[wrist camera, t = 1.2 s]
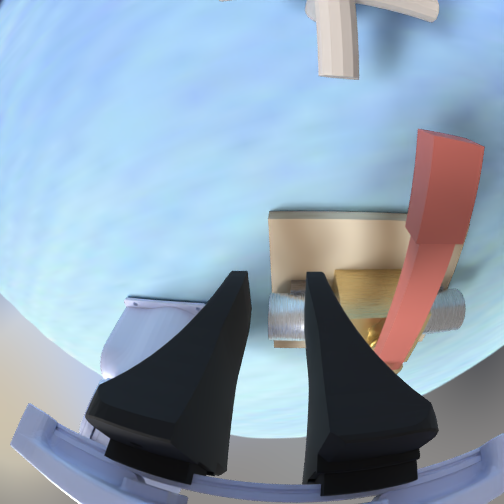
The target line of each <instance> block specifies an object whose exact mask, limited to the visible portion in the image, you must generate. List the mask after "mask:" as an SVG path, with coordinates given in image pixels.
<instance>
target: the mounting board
mask: <svg viewBox="0 0 504 504" xmlns="http://www.w3.org/2000/svg"><path fill="white" fill-rule="evenodd" d="M406 219H407V214H405V213H380V212H340V211H269V217H268V224H269V242H270V262H271V283H272V293H291V280H306V272H323V273H324V274H325V276H326V278H327V281H328V283H329V285H330V287H331V289H332V285H333V278H334V270H345V269H402V268H403V264H404V261H405V257H406V253H407V249H408V245H409V241H410V237H411V235H410V234H409V232H408V231H407V229H406V228H405V224H406ZM469 225H470V224H469ZM468 229H469V226H468ZM467 232H468V230H467ZM466 236H467V233H466ZM466 236H465V239H466ZM464 242H465V240H464ZM463 245H464V243H463V244H455V247H454V250H453V253H452V256H451V259H450V262H449V265H448V268H447V270H446V273H445V276H444V278H443V281H442V283H443V285H444V289H447V288H448V286H449V283H450V281H451V278H452V276H453V273H454V271H455V268H456V265H457V263H458V260H459V257H460V254H461V251H462V248H463ZM424 336H425V334H422V335H421V337H420V338H419V340H418V342H420V341H422V340H423V338H424ZM274 348H306V346H305V341H285V340H274Z"/></svg>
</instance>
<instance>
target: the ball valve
mask: <svg viewBox="0 0 504 504" xmlns="http://www.w3.org/2000/svg"><path fill="white" fill-rule="evenodd" d="M401 271H402V269H345V270H334V278H333V285H332V291H333V292H334V294H335V296H336V298H337V300H338V301H339V303H340V305H341V306H342V308H343V310H344V311H345V313H346V314H347V316H348V317H349V319H350V320H351V322H352V323H353V325H354V326H355V328H356V329H357V330H358V332H359V333H360V334H361V336H362V337H363V338H364V340H365V341H366V342H367V343H368V345H369V346H370V347H371V348H372V349H373V350H374V349H375V346H376V344H377V341H378V339H379V336H380V334H381V331H382V328H383V326H384V323H385V320H386V318H387V315H388V312H389V309H390V306H391V303H392V300H393V297H394V294H395V291H396V288H397V285H398V282H399V278H400V275H401ZM305 289H306V280H291V293H270V298H269V310H268V338H269V340H285V341H305V335H304V304H305ZM464 317H465V300H464V297H463V295H462V293H461V292H460V290H458V289H456V288H453V289H444V285H443V283H442V284H441V286H440V289H439V291H438V293H437V296H436V298H435V300H434V303H433V305H432V307H431V309H430V312H429V314H428V316H427V318H426V320H425V322H424V324H423V326H422V328H421V330H420V332H419V334H418V336H417V338H416V340H415V342H414V344H413V346H412V348H411V349H410V351H409V353H408V355H407V357H406V358H405V360H404V362H407V360H408V358H409V357H410V355H411V353H412V351H413V349H414V348H415V346H416V344H417V342H418V340H419V338H420V337H421V335H422V334H430V333H438V332H446V331H453V330H457V329H458V328H460V326H461V325H462V323H463V320H464Z"/></svg>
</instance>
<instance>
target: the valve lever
mask: <svg viewBox="0 0 504 504" xmlns="http://www.w3.org/2000/svg"><path fill="white" fill-rule="evenodd" d="M483 155H484V146H482V145H480V144H477V143H475V142H473V141H471V140H469V139H467V138H463V137H458V136H454V135H449V134H445V133H440V132H434V131H429V130H423V129H418V135H417V148H416V158H415V167H414V176H413V183H412V190H411V196H410V202H409V208H408V214H407V219H406V224H405V228H406V229H407V231H408V232H409V234H410V235H411V237H410V241H409V245H408V249H407V253H406V257H405V261H404V264H403V268H402V271H401V275H400V278H399V282H398V285H397V288H396V291H395V294H394V297H393V300H392V303H391V306H390V309H389V312H388V315H387V318H386V320H385V323H384V326H383V328H382V331H381V334H380V336H379V339H378V341H377V344H376V346H375V349H374V352H375V353H376V354H377V355H378V356H379V357H380V358H381V359H382V360H383V361H384V362H385V363H386V364H387V365H388V366H389V367H390V368H391V370H392V371H393V372H394V373H395V374H397V373H399V372H400V371H401V369H402V367H403V362H404V360H405V358H406V357H407V355H408V353H409V351H410V349H411V348H412V346H413V344H414V342H415V340H416V338H417V336H418V334H419V332H420V330H421V328H422V326H423V324H424V322H425V320H426V318H427V316H428V314H429V312H430V309H431V307H432V305H433V303H434V300H435V298H436V296H437V293H438V291H439V289H440V286H441V284H442V281H443V278H444V276H445V273H446V270H447V268H448V265H449V262H450V259H451V256H452V253H453V250H454V247H455V244H463V243H464V240H465V236H466V233H467V230H468V226H469V223H470V219H471V215H472V211H473V207H474V203H475V199H476V194H477V190H478V185H479V180H480V174H481V168H482V162H483Z"/></svg>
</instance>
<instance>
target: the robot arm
mask: <svg viewBox="0 0 504 504" xmlns="http://www.w3.org/2000/svg"><path fill="white" fill-rule="evenodd" d="M124 303H125V305H126V308H125V310H124V312H123V313H122V315H121V317H120V318H119V320H118V322H117V324H116V325H115V327H114V329H113V331H112V332H111V334H110V336H109V338H108V339H107V341H106V343H105V345H104V347H103V350H102V354H101V361H100V368H101V373H102V376H103V378H104V379H103V380H100V382H99V384H98V386H97V388H96V390H95V392H94V394H93V396H92V398H91V400H90V402H89V405H88V407H87V409H86V412H85V414H84V417H83V419H82V422H81V425H80V428H79V431H80V432H79V434H78V433H76V432H74V431H72V430H70V429H68V428H66V427H65V426H63V425H61V424H59V423H57V421H56V420H54V419H53V418H52V417H50V416H49V415H48V414H46V413H45V412H43V411H42V410H40V409H38V408H37V407H35V406H34V405H32V404H31V403H29V404H28V405H27V407H26V410H25V412H24V414H23V416H22V418H21V420H20V423H19V425H18V427H17V429H16V431H15V434H14V436H13V438H12V441H11V444H10V445H11V447H12V448H13V449H15V450H16V451H17V452H18V453H19V454H20V455H21V456H23V457H24V458H25V459H26V460H27V461H28V462H29V463H31V464H32V465H33V466H34V467H35V468H36V469H37V470H38V471H39V472H41V473H42V474H43V475H44V476H45V477H46V478H47V479H49V480H50V481H51V482H52V483H53V484H54V485H56V486H57V487H58V488H59V489H61V490H62V491H63V492H64V493H66V494H67V495H68V496H70V497H71V498H72V499H74V500H75V501H77V502H78V503H79V504H187V501H188V497H187V496H184V495H180V494H179V493H180V491H181V489H186V490H190V491H195V492H199V493H204V494H209V495H215V496H221V497H228V498H235V499H243V500H252V501H265V502H290V503H291V502H293V503H298V502H299V503H300V502H327V501H339V500H348V499H356V498H363V497H369V496H376V495H377V496H376V497H374V499H373V500H372V501H371V502H367V503H361V504H487V503H489V502H490V501H492V500H493V499H495V498H497V497H498V496H499V495H501V494H503V493H504V433H502V434H500V435H498V436H497V437H495V438H493V439H491V440H489V441H488V442H486V443H485V444H483V445H482V446H481V447H479V448H477V449H475V450H472V451H470V452H468V453H465V454H462V455H460V456H457V457H454V458H452V459H449V460H446V461H443V462H440V463H437V464H433V465H430V466H427V467H423V468H420V469H417V461H416V460H417V459H419V458H420V451H419V448H420V447H422V446H423V445H425V444H426V443H428V442H429V441H430V440H432V439H433V438H434V437H435V436H436V435H437V433H438V431H439V430H438V425H437V419H436V416H435V412H434V410H433V407H432V404H431V402H429V401H428V400H427V399H425V398H424V397H423V396H421V395H420V394H419V393H417V392H416V391H415V390H413V389H412V388H411V387H410V386H409V385H407V384H406V383H405V382H404V381H403V380H402V379H401V378H400V377H399V376H397V375H396V374H395V373H394V372H393V371H392V370H391V368H390V367H389V366H388V365H387V364H386V363H385V362H384V361H383V360H382V359H381V358H380V357H379V356H378V355H377V354H376V353H375V352H374V350H373V349H372V348H371V347H370V346H369V345H368V343H367V342H366V341H365V340H364V338H363V337H362V336H361V334H360V333H359V332H358V330H357V329H356V328H355V326H354V325H353V323H352V322H351V320H350V319H349V317H348V316H347V314H346V313H345V311H344V310H343V308H342V306H341V305H340V303H339V301H338V300H337V298H336V296H335V294H334V292H333V291H332V289H331V287H330V285H329V283H328V281H327V278H326V276H325V274H324V273H323V272H306V289H305V304H304V335H305V346H306V356H307V367H308V378H309V402H308V424H307V439H306V440H307V441H306V452H305V463H304V472H303V482H302V485H288V484H287V485H286V484H265V483H252V482H242V481H234V480H227V479H220V478H214V477H208V476H206V475H211V476H215V475H217V476H219V475H221V474H223V473H224V472H226V471H227V460H228V449H229V439H230V430H231V421H232V413H233V405H234V398H235V390H236V384H237V379H238V375H239V371H240V366H241V362H242V358H243V354H244V350H245V346H246V342H247V338H248V334H249V328H250V320H251V310H252V307H251V298H250V289H249V280H248V271H232V272H231V273H230V274H229V275H228V276H227V278H226V279H225V280H224V282H223V283H222V284H221V286H220V287H219V288H218V290H217V291H216V292H215V294H214V295H213V296H212V297H211V298H210V300H209V301H208V302H207V303H206V304H204V303H189V302H174V301H161V300H149V299H137V298H125V300H124Z"/></svg>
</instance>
